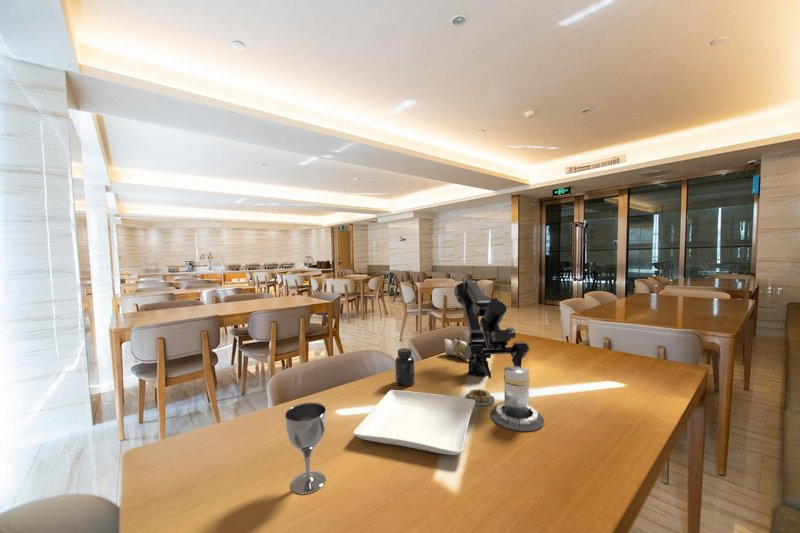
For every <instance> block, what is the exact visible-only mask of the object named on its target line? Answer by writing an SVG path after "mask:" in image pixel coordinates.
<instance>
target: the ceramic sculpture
mask: <svg viewBox="0 0 800 533" xmlns="http://www.w3.org/2000/svg"><path fill="white" fill-rule="evenodd" d="M443 340H444V341H443V344H444V349H445V355H447V356H454V357H457V358H459V357H460V359H462V360H466V361H467V360H468V358H467V357H466V356H465V348H466V346H467V342H468V341H465V340H461V338H460V337H458V338H455V339H453V340H450V339H448V338H445V337H444V339H443Z"/></svg>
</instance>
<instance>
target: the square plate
mask: <svg viewBox="0 0 800 533" xmlns="http://www.w3.org/2000/svg"><path fill="white" fill-rule="evenodd" d="M475 403H476V401H475V400H474V399H467V398H465V397H459V396H452V395H445V394H436V393H427V392H418V391H409V390H397V389H390V390H389V391H388V392H387V393H385V395H384V396H383V397H382V399H381V400H380V401H379V402H378V403H377V404H376V405H375V406H374V407H373V409H372V410H371V411H370V412H369V413H368V414H367V415H366V416H365V418H364V419H363V420H362V421H361V422H360V423H359V424H358V425H357V426H356V428H355V429H354V430H353V432H352V435H354V436H356V437H358V438H359V439H361V440H365V441H369V442H375V443H381V444H387V445H394V446H400V447H407V448H412V449H415V450H421V451H428V452H432V453H436V454H443V455H449V456H455V455H456V456H457V455H459V454H460V453H462V452H464V448H465V445H466V438H467V432H468V427H469V422H470V419H471V416H472V414H473V410H474V409H475V407H476V406H475Z"/></svg>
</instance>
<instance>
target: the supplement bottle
mask: <svg viewBox="0 0 800 533" xmlns="http://www.w3.org/2000/svg"><path fill="white" fill-rule="evenodd" d="M394 364H395V365H394V370H395V371H394V372H395V373H394V374H395V375H394V376H395V377H394V378H395V379H394V380H395V384H396V386H399V387H400V388H401V387H402V388H407V387H408V388H410V387H411V386H413V385H415V381H416V374H415V373H416V372H415V370H416V369H415V358H414V357H413V353H412V349H411V348H406V347H405V348H399V349H397V357H396V358H395V360H394Z"/></svg>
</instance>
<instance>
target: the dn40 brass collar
mask: <svg viewBox="0 0 800 533" xmlns="http://www.w3.org/2000/svg"><path fill="white" fill-rule="evenodd" d="M464 398H467V399H474V400H475V401H476V403H475V406H474V407H489V406H492V405H494V404H495V397H494V395H491V393H490V392H489V391H487V390H486V389H480V388H479V389H478V388H477V389H471V390H469V392H468V393H467V394H465V396H464Z"/></svg>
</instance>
